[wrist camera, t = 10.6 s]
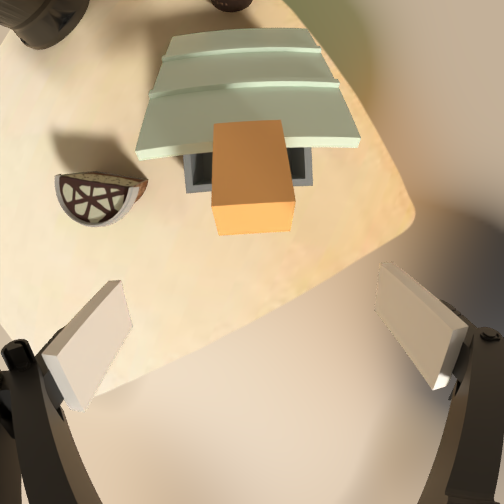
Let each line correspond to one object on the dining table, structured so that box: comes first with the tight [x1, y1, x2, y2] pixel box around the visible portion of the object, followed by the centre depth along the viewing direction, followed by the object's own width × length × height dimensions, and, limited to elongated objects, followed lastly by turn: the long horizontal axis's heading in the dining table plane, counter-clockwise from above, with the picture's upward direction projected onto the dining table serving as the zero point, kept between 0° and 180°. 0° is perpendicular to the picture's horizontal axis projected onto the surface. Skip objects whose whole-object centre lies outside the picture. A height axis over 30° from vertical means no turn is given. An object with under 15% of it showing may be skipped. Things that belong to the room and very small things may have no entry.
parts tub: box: [183, 147, 313, 193], centre depth 34 cm, size 18×14×10 cm
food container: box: [55, 171, 148, 227], centre depth 37 cm, size 12×6×10 cm, turn 77°
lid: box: [135, 28, 361, 236], centre depth 21 cm, size 25×15×3 cm
